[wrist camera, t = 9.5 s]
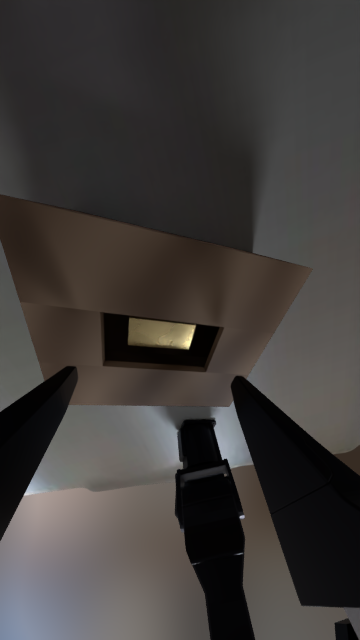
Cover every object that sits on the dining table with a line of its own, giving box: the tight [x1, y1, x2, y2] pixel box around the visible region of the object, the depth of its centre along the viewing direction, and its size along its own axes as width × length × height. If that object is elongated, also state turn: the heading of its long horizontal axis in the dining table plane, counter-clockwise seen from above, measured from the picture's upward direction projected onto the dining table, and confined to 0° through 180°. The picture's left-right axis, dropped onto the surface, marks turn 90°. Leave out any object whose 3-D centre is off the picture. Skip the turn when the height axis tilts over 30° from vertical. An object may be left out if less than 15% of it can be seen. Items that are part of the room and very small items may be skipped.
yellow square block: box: [128, 316, 196, 350], centre depth 14 cm, size 5×2×5 cm, turn 79°
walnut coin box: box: [0, 195, 313, 407], centre depth 14 cm, size 16×14×7 cm
